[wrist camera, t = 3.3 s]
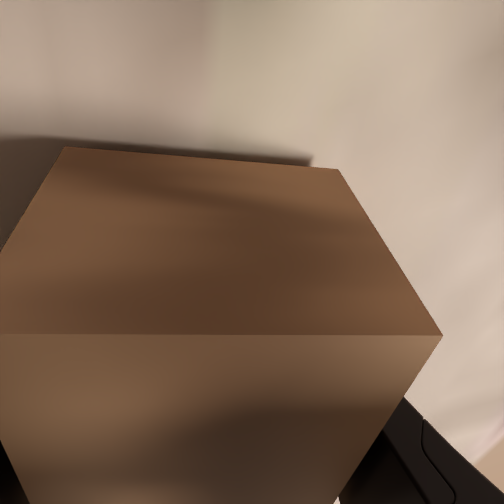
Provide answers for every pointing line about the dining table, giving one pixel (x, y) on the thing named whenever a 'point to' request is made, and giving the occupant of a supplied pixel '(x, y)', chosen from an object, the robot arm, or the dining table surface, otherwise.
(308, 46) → the dining table surface
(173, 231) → the walnut block
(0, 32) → the dining table surface
